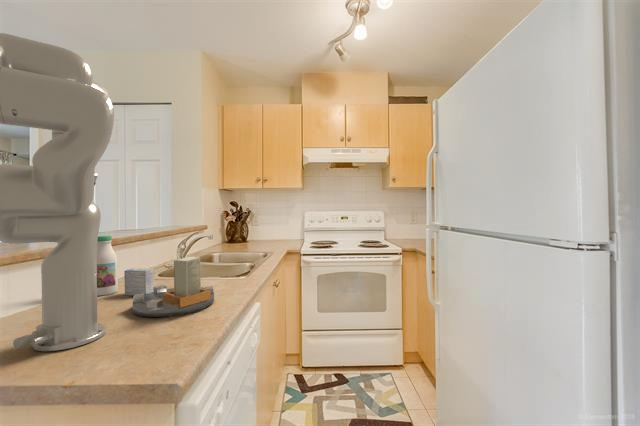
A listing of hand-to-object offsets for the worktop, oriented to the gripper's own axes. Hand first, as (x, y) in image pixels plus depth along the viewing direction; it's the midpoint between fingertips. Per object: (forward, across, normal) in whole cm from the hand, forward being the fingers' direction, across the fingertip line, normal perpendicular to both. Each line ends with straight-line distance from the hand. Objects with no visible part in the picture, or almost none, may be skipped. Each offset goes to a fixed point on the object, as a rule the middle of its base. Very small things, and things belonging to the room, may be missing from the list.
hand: (71, 205), depth 82 cm
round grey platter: (+30, -22, -14) cm, 40 cm away
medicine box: (+31, -1, -21) cm, 37 cm away
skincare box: (+28, -28, -11) cm, 41 cm away
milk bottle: (+31, +12, -19) cm, 38 cm away
